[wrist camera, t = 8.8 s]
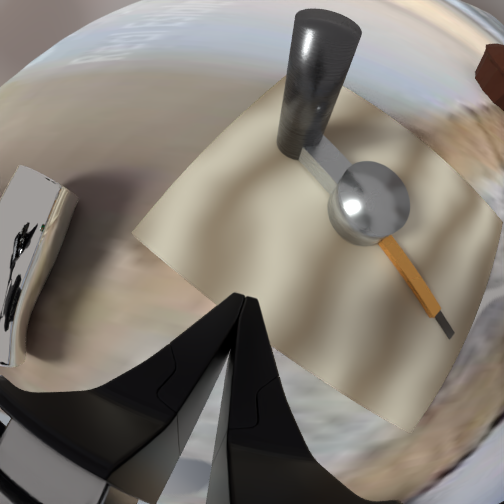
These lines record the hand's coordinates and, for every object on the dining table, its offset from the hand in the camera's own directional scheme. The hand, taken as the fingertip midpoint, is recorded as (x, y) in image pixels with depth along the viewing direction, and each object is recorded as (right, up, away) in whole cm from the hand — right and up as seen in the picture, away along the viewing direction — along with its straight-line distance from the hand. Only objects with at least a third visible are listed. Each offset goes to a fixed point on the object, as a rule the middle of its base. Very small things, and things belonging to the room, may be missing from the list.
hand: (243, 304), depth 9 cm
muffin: (+41, +29, +17) cm, 53 cm away
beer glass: (-21, -7, +5) cm, 23 cm away
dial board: (+9, +4, +11) cm, 15 cm away
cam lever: (+8, +4, +9) cm, 13 cm away
